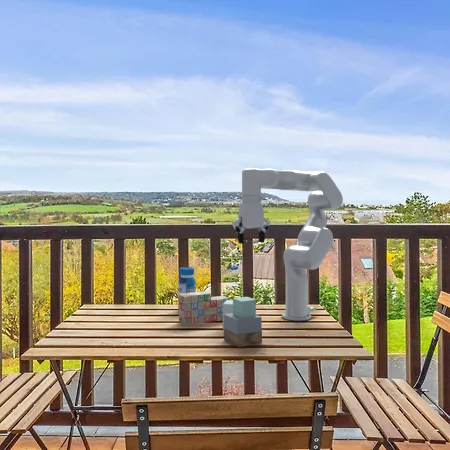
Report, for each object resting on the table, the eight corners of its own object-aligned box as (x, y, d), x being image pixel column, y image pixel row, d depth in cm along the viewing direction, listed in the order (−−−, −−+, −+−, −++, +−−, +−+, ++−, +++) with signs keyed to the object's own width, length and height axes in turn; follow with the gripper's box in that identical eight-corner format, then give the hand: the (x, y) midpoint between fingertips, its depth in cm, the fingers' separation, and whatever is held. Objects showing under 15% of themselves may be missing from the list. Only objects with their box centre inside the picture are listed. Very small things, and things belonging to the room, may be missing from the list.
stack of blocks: (222, 316, 204) (222, 288, 204) (229, 319, 199) (229, 291, 198) (178, 322, 194) (178, 293, 193) (184, 325, 188) (184, 296, 188)
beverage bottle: (195, 312, 210) (195, 269, 209) (177, 312, 211) (176, 269, 210) (196, 308, 219) (196, 266, 218) (179, 308, 219) (178, 266, 218)
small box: (236, 330, 180) (236, 304, 180) (222, 330, 181) (222, 303, 181) (239, 325, 188) (239, 300, 188) (226, 324, 189) (226, 299, 189)
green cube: (246, 312, 170) (246, 296, 170) (255, 316, 165) (255, 299, 165) (232, 314, 167) (232, 298, 167) (241, 318, 162) (241, 301, 162)
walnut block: (247, 337, 173) (247, 324, 173) (261, 344, 165) (261, 330, 164) (224, 341, 169) (224, 327, 168) (238, 348, 160) (238, 334, 160)
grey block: (247, 324, 173) (247, 311, 173) (261, 330, 164) (261, 317, 164) (224, 327, 169) (224, 314, 168) (236, 334, 160) (236, 320, 159)
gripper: (264, 199, 190) (264, 241, 191) (227, 199, 181) (227, 243, 182) (274, 199, 183) (274, 242, 184) (237, 199, 175) (237, 244, 176)
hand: (251, 242), depth 183 cm, fingers open, 9 cm apart
